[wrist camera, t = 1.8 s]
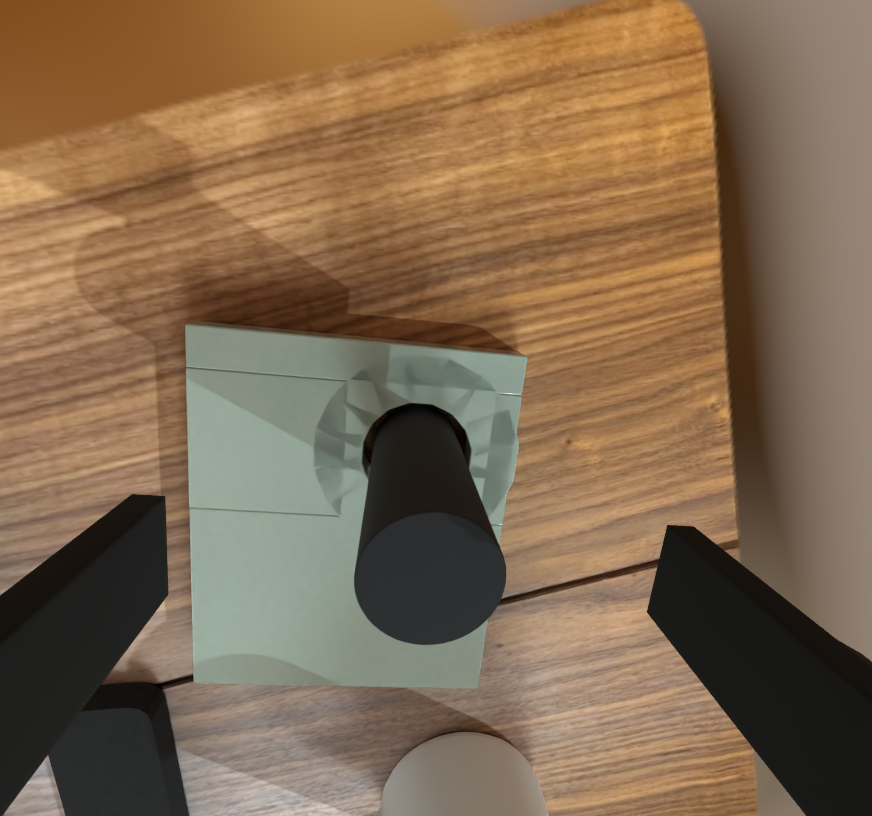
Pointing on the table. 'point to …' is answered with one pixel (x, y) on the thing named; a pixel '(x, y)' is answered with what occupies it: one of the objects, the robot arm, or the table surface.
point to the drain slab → (319, 496)
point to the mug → (462, 780)
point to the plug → (425, 535)
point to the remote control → (120, 756)
